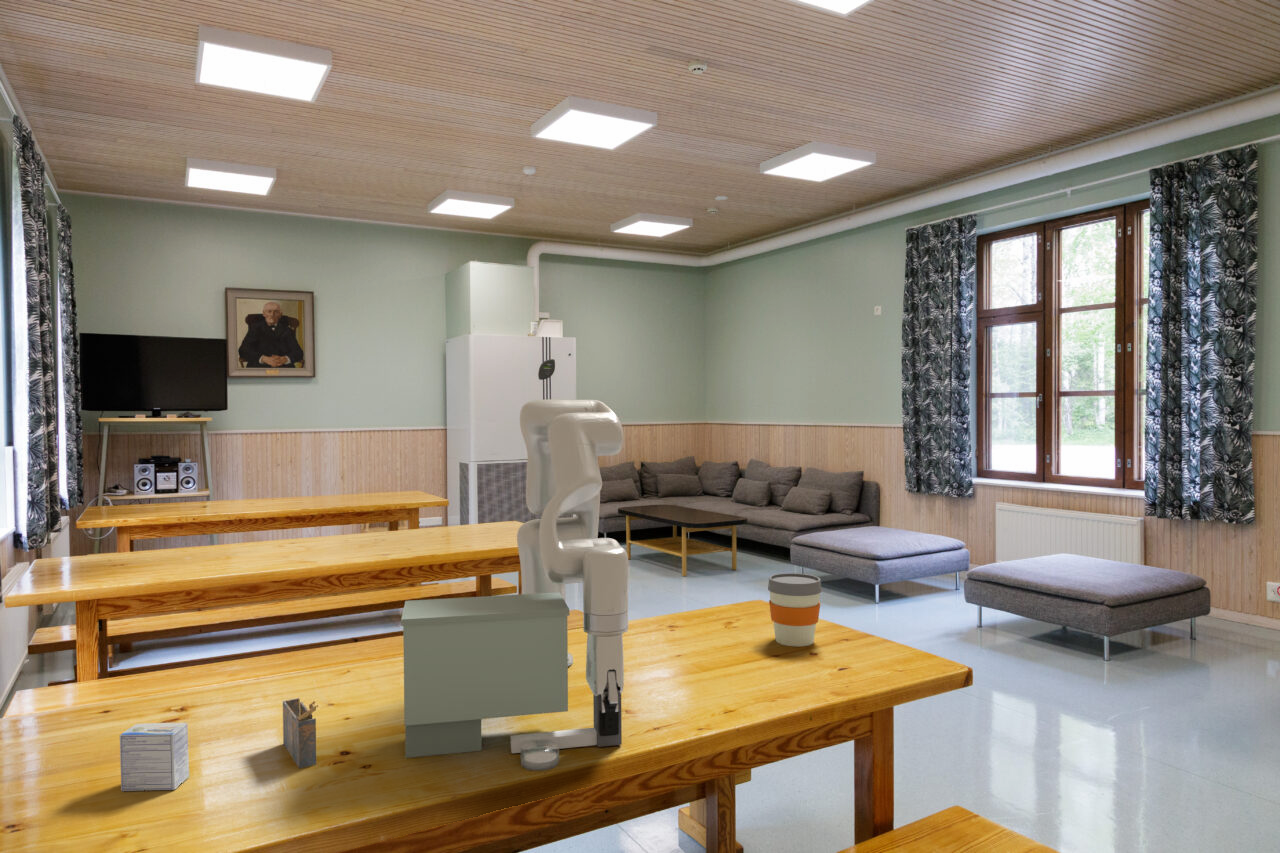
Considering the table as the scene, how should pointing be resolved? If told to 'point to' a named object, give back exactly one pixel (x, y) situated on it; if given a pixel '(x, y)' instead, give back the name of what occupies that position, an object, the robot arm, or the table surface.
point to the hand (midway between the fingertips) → (606, 728)
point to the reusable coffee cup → (794, 607)
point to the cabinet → (480, 666)
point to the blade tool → (574, 733)
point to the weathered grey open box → (299, 732)
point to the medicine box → (154, 756)
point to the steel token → (539, 755)
